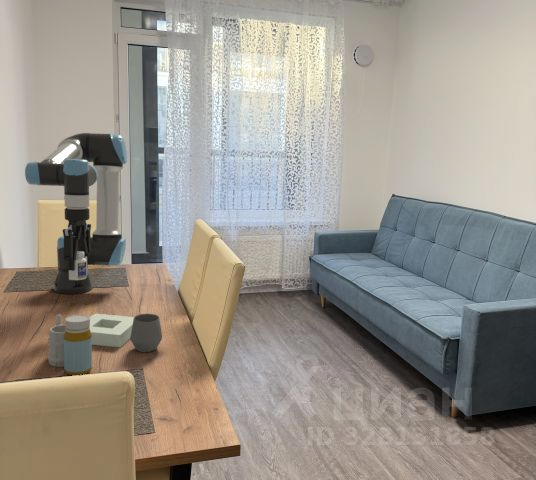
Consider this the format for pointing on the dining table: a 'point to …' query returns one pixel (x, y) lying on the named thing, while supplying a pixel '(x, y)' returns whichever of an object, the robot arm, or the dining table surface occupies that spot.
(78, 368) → the bottle
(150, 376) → the dining table surface
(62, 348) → the mug
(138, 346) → the cup
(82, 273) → the pill bottle
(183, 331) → the dining table surface
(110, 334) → the socket block
